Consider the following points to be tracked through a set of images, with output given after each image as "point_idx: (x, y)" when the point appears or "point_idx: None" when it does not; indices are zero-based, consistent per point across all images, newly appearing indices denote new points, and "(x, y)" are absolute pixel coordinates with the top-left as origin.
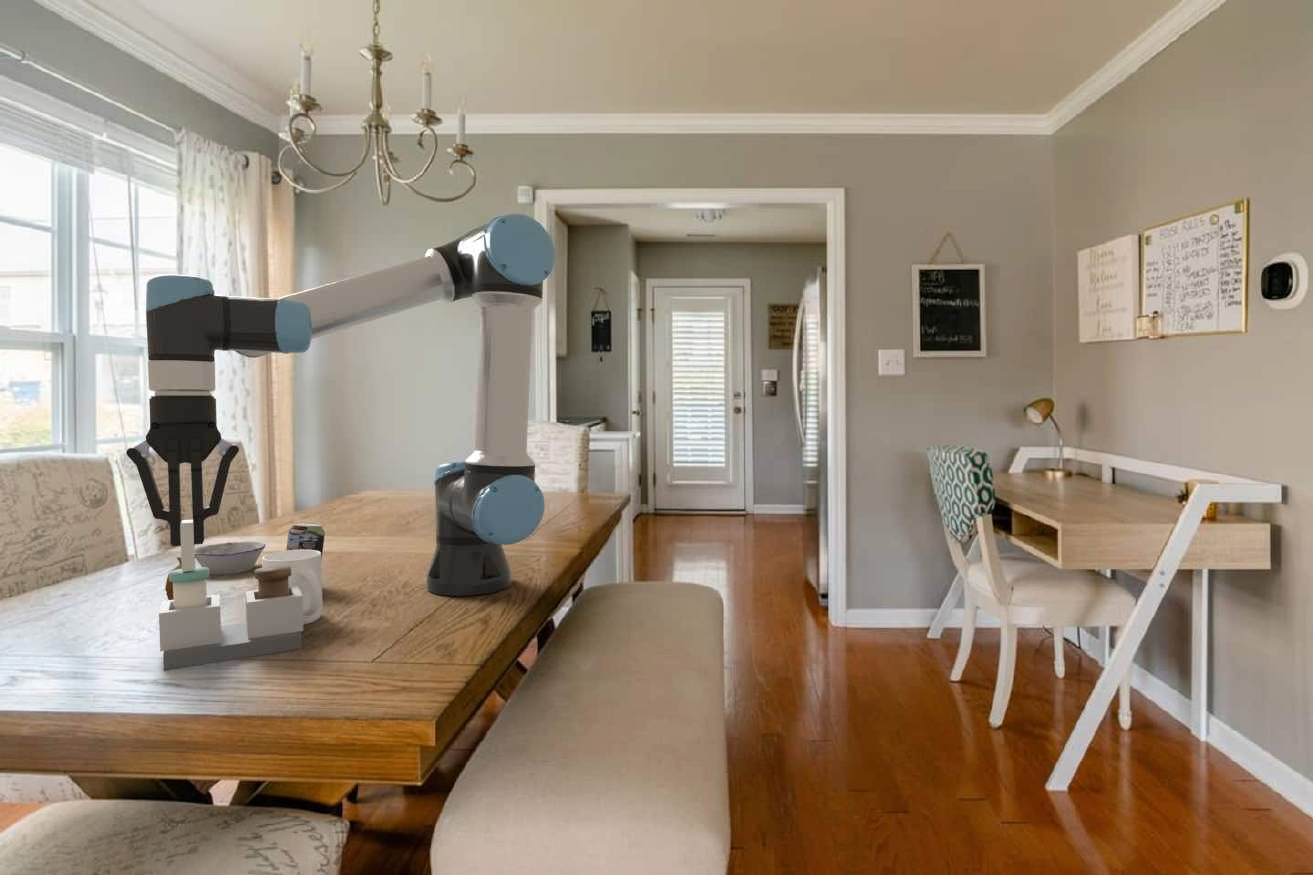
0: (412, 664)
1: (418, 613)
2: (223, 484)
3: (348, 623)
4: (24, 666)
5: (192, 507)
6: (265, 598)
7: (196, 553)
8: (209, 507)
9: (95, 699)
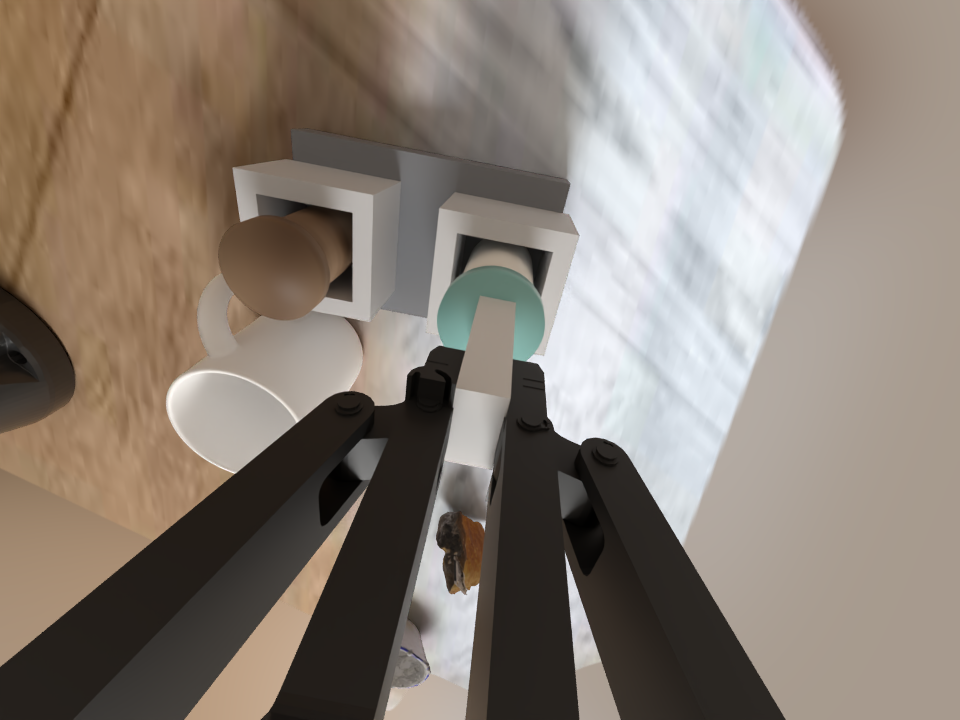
0: None
1: (70, 221)
2: (187, 525)
3: (214, 250)
4: (731, 373)
5: (442, 444)
6: (328, 224)
7: (424, 664)
8: (359, 423)
9: (722, 59)
